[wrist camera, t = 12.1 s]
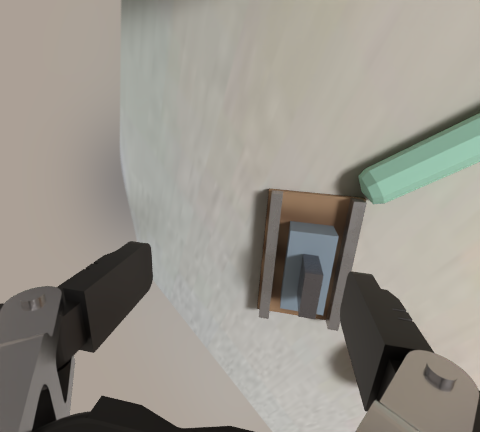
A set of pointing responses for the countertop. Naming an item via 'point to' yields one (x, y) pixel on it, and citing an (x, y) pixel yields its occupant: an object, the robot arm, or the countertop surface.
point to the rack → (276, 237)
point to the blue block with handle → (308, 268)
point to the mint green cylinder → (423, 162)
